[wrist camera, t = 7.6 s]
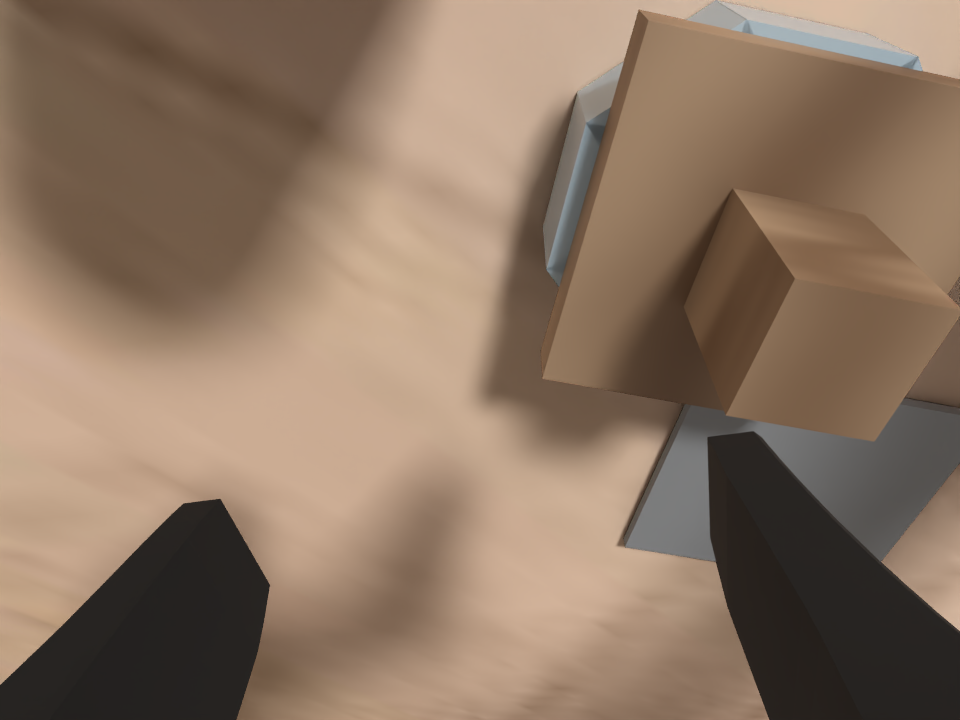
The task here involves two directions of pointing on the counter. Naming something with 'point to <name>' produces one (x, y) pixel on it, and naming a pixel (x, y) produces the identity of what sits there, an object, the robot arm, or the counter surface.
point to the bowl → (600, 93)
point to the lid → (763, 231)
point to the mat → (805, 476)
